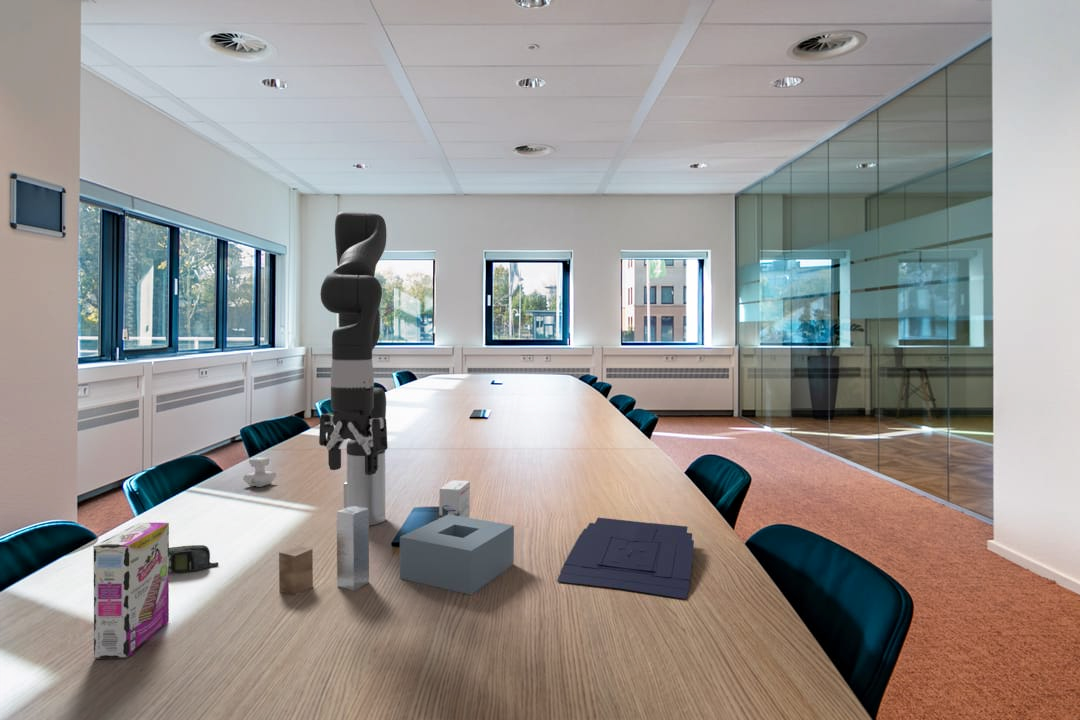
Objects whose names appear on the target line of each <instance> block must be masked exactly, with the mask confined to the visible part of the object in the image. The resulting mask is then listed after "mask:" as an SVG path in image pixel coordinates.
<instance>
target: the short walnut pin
mask: <svg viewBox="0 0 1080 720" xmlns="http://www.w3.org/2000/svg"><path fill="white" fill-rule="evenodd" d="M313 550H314V549H313V548H310V547H305V546H301V545H294V546H292V547H290V548H287V549H285V550H282V551H279V552H278V575H279V576H278V577H279V578H278V579H279V580H278V581H279V583H278V584H279V585H278V587H279V591H280V592H283V593H287V594H291V595H294V596H295V595H298V594H300V593H302V592H305V591H306V590H308V589H310V588H312V587H313V586H314V583H313V582H314V578H313V576H314V574H313V571H314V570H313V569H314V568H313V567H314V566H313V565H314V564H313V562H314V559H313V557H314V556H313V553H314V552H313Z"/></svg>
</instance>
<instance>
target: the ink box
mask: <svg viewBox="0 0 1080 720" xmlns="http://www.w3.org/2000/svg"><path fill="white" fill-rule="evenodd" d="M470 493H471V481H469V480H455V479H454V480H453V479H452V480H450V481H449V482H447V483H446V484H444V485H443V486H442V487H440V488H439V504H438V505H439V508H438V513H439V514H438V519H439V518H442V517H444V516H446V515H455V516H461V517H467V518H470V510H471V509H470V507H471V506H470V503H471V502H470V501H471V499H470V495H471V494H470Z"/></svg>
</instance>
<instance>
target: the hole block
mask: <svg viewBox="0 0 1080 720" xmlns="http://www.w3.org/2000/svg"><path fill="white" fill-rule="evenodd" d="M514 543H515V525H514V524H507V523H503V522H502V523H501V522H496V521H489V520H483V519H477V518H472V517H469V518H467V517H461V516H455V515H446V516H444V517H442V518H439V517H438V518H437V519H436V520H434V521H431V522H429V523H427V524H425V525H423V526H420V527H418V528H416V529H414V530H412V531H410V532H407V533H406V534H405V533H404V534H403V535H400V536H399V579H401V580H405V581H409V582H414V583H419V584H424V585H426V586H427V585H428V586H432V587H436V588H440V589H444V590H447V591H453V592H458V593H461V594H465V595H466V594H467V595H470V596H471V595H473V594H474V593H476V592H477V591H479V590H480V589H481V588H483V587H484V586H486V585H487V584H488V583H490V582H491V581H493V580H494V579H495V578H497V577H498V576H499V575H501V574H502V573H504V572H505V571H506V570H508V569H509V568H510V567H512V566H513V565H514V559H515V558H514V557H515V553H514V551H515V544H514Z"/></svg>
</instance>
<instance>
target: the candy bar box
mask: <svg viewBox="0 0 1080 720" xmlns="http://www.w3.org/2000/svg"><path fill="white" fill-rule="evenodd" d="M169 526H170V522H139V523H136V524H134V525H132V526H130V527H128V528H127V529H125V530H123V531H120V532H118V533H117V534H115V535H113V536H111V537H109V538H106V539H105V540H103V541H101V542H100V543H97V544H95V545H93V659H99V660H100V659H102V660H103V659H105V660H107V659H114V660H115V659H119V660H120V659H127V658H130V656H132V654H134V653H135V652H136V651H137V650H138V649H139V648H140V647H141V646H142V645H144V644H145V643H146V642H147V641H148V640H150V639H151V638H152V637H153V636H154V635H155V634H156V633H158V631H160V630H161V629H162V628H163V627H164V626H165V625H167V624H168V623H169V621H170V620H169V619H170V617H169V614H170V613H169V612H170V609H169V608H170V606H169V605H170V603H169V601H170V600H169V599H170V597H169V592H170V591H169V590H170V589H169V585H170V583H169V582H170V581H169V580H170V577H169V576H170V574H169V548H170V545H169V544H170V543H169V541H170V540H169V539H170V537H169V536H170V535H169V534H170V531H169V530H170V529H169V528H170V527H169Z"/></svg>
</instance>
